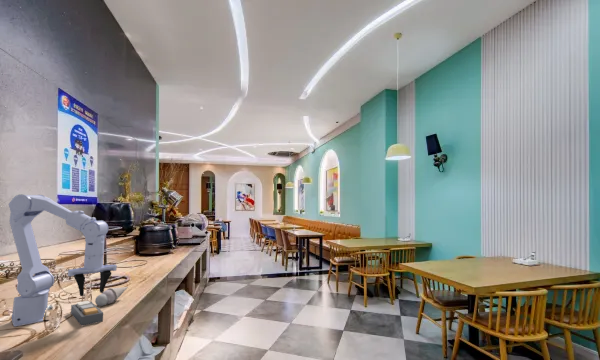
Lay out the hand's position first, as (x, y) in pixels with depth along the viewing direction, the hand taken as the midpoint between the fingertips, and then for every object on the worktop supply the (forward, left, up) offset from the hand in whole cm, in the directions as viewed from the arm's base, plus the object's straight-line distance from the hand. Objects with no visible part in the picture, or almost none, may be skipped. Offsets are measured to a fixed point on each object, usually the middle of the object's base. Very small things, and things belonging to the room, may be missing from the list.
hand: (91, 293), depth 115 cm
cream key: (0, +10, -7) cm, 12 cm away
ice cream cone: (+12, +17, -10) cm, 23 cm away
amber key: (0, 0, -7) cm, 7 cm away
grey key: (0, +5, -7) cm, 8 cm away
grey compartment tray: (0, +5, -9) cm, 11 cm away
